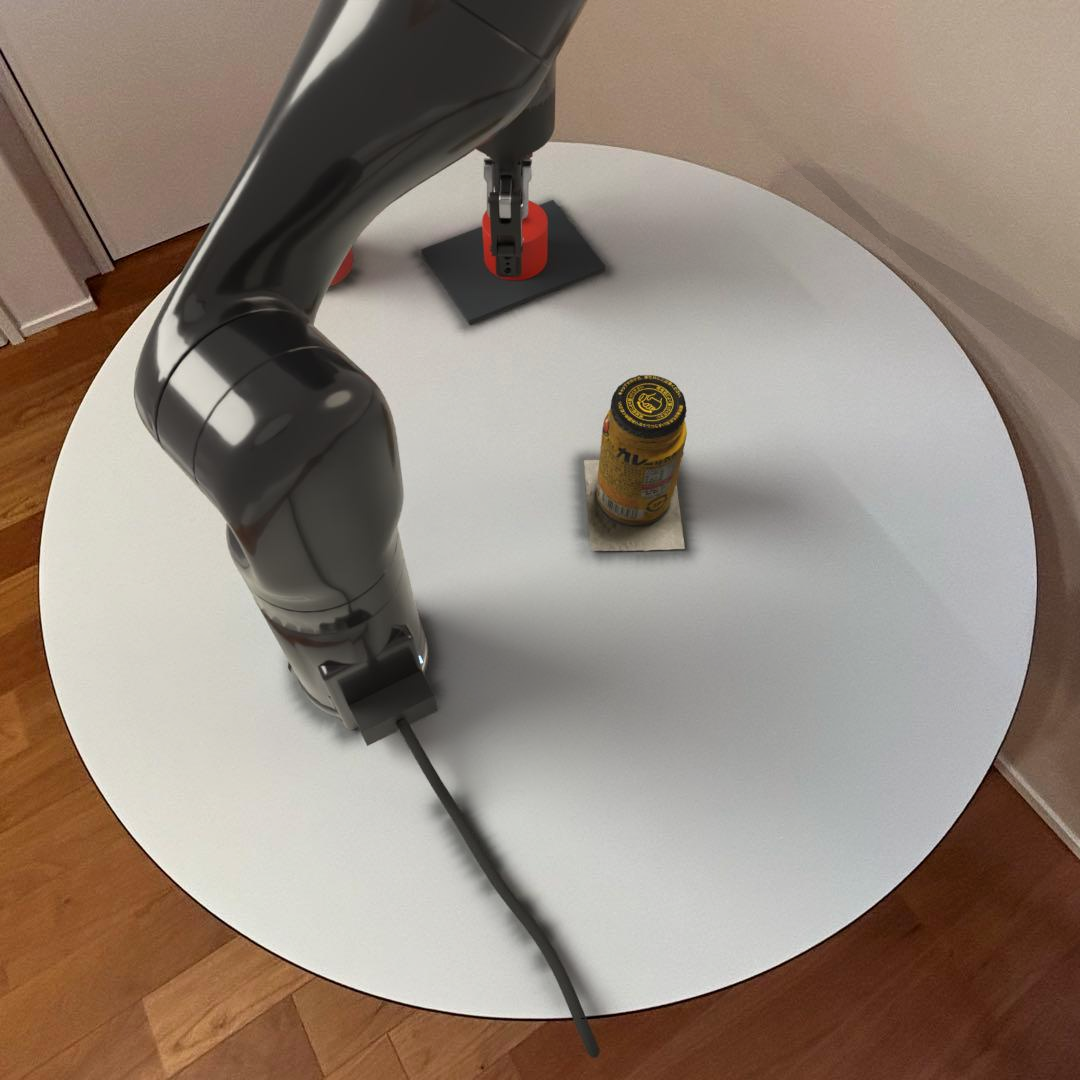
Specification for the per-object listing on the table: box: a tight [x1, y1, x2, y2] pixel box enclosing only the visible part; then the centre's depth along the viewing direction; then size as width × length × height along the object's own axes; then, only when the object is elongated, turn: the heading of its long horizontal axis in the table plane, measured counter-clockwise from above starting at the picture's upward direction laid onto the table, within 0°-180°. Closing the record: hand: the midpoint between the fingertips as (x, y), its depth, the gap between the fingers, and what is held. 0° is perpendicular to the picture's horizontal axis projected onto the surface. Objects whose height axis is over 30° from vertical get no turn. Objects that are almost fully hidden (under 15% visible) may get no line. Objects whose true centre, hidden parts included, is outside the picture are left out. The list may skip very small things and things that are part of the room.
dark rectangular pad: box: [420, 199, 606, 326], centre depth 90 cm, size 10×14×1 cm
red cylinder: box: [481, 200, 548, 281], centre depth 88 cm, size 6×6×5 cm
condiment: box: [583, 374, 688, 552], centre depth 72 cm, size 7×8×12 cm
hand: (510, 239), depth 88 cm, fingers open, 8 cm apart
